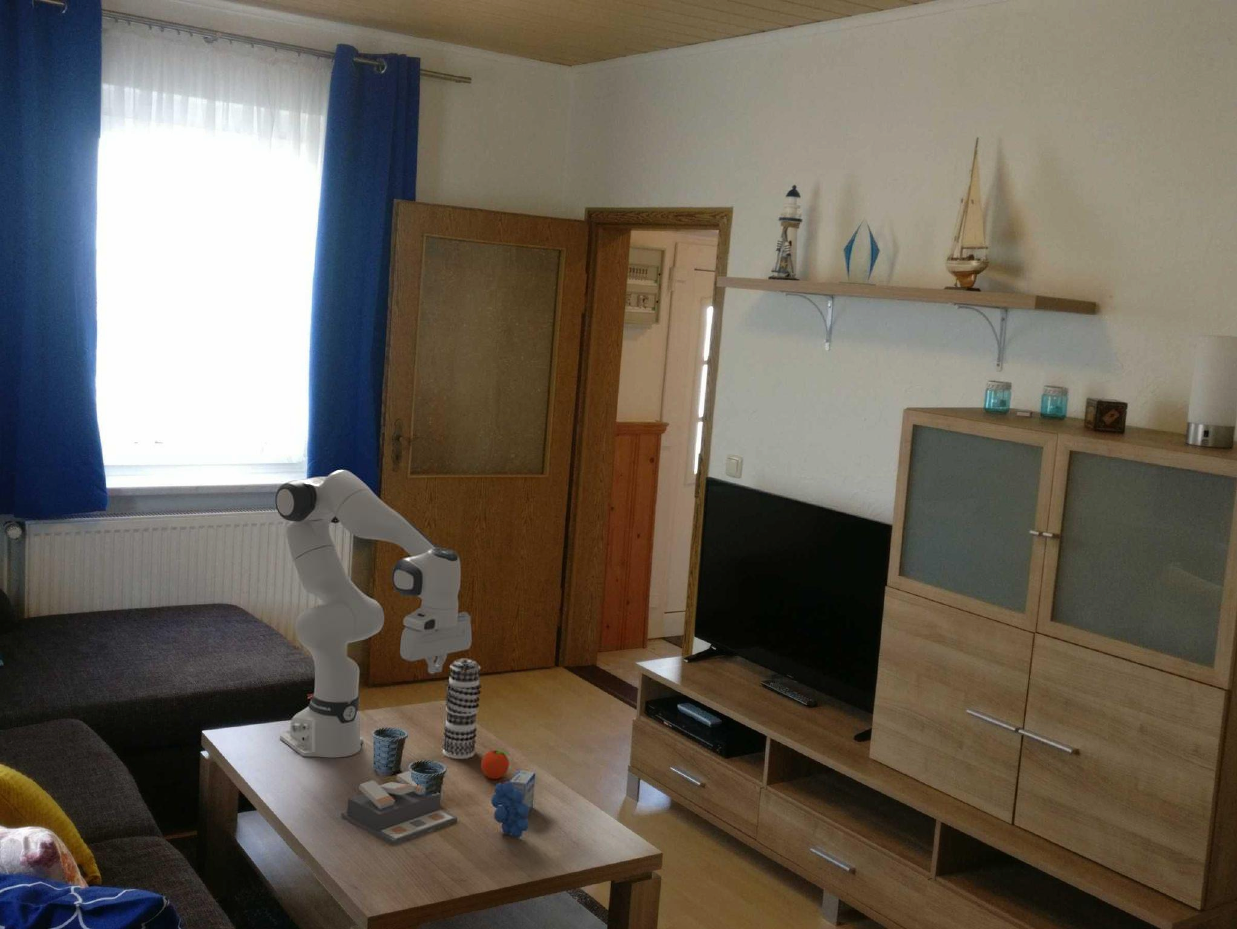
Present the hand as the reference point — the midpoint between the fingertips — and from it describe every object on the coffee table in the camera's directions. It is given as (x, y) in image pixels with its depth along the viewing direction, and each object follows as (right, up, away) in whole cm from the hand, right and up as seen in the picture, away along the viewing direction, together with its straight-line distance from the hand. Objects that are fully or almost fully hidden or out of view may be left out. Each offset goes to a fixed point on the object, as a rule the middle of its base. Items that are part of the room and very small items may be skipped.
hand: (434, 672), depth 293 cm
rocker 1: (-10, -24, -20) cm, 33 cm away
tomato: (+13, -29, +14) cm, 35 cm away
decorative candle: (+2, -26, +28) cm, 39 cm away
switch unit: (-6, -31, -16) cm, 35 cm away
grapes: (+19, -34, -19) cm, 43 cm away
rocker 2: (-7, -24, -15) cm, 29 cm away
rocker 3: (-3, -24, -11) cm, 26 cm away
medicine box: (+21, -32, -5) cm, 39 cm away
